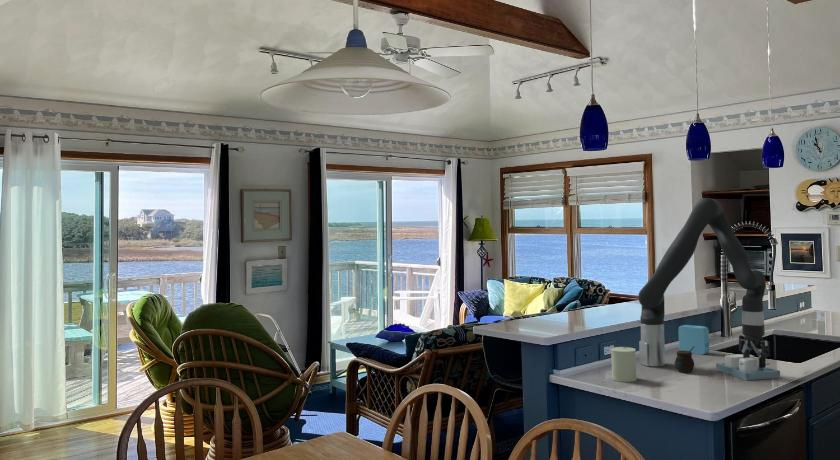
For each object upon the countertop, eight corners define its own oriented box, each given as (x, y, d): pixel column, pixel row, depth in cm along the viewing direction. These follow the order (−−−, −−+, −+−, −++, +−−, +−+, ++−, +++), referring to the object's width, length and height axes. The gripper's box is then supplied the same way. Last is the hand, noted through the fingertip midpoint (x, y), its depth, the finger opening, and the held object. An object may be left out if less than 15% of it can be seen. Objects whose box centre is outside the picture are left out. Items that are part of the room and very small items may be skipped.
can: (637, 377, 245) (636, 346, 245) (635, 382, 237) (634, 350, 237) (613, 375, 249) (612, 345, 249) (610, 381, 241) (609, 349, 241)
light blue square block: (709, 353, 283) (708, 326, 283) (705, 355, 280) (704, 328, 280) (683, 350, 292) (682, 324, 292) (678, 351, 289) (678, 325, 289)
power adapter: (762, 370, 245) (761, 355, 245) (772, 373, 240) (771, 358, 240) (737, 373, 242) (737, 357, 242) (746, 375, 237) (746, 360, 237)
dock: (746, 380, 235) (745, 364, 235) (716, 369, 253) (715, 354, 253) (780, 377, 237) (779, 361, 237) (747, 367, 255) (747, 352, 255)
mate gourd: (671, 370, 255) (670, 345, 255) (689, 369, 256) (688, 344, 256) (680, 374, 248) (679, 348, 248) (698, 373, 248) (698, 347, 248)
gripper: (732, 320, 247) (733, 362, 247) (757, 326, 233) (758, 370, 233) (749, 319, 248) (750, 360, 248) (775, 325, 234) (776, 368, 234)
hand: (754, 365), depth 241 cm, fingers open, 8 cm apart
